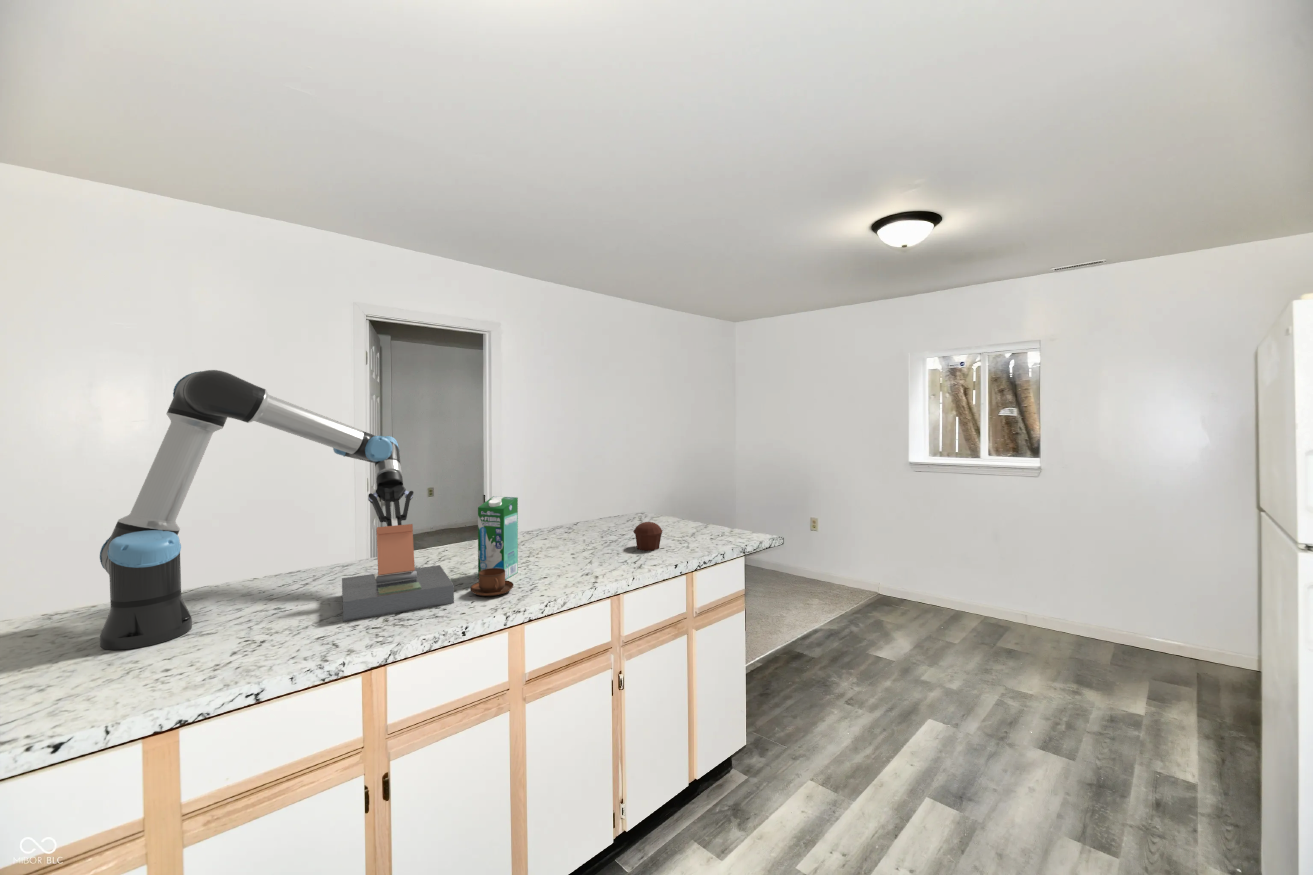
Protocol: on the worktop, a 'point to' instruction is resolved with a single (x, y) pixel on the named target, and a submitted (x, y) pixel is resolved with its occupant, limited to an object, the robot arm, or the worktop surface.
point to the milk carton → (498, 535)
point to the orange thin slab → (395, 553)
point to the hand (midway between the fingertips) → (395, 539)
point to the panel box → (395, 593)
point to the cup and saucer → (491, 583)
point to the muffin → (648, 536)
